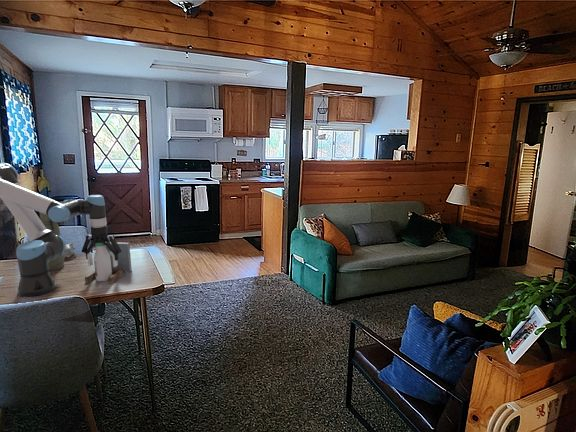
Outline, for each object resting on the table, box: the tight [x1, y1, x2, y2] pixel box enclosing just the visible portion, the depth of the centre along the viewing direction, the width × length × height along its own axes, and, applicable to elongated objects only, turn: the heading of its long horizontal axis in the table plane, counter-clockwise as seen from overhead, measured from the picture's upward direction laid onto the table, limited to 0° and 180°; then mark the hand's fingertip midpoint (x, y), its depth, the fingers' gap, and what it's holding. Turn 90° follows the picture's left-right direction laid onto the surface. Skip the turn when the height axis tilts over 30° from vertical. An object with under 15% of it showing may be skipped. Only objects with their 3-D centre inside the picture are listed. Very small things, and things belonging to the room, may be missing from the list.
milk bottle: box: [93, 243, 112, 282], centre depth 195 cm, size 8×8×20 cm
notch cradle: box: [84, 269, 125, 285], centre depth 198 cm, size 12×14×3 cm
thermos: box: [39, 212, 65, 271], centre depth 210 cm, size 9×12×35 cm
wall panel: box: [105, 241, 133, 273], centre depth 206 cm, size 4×16×16 cm, turn 84°
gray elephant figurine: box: [63, 242, 77, 260], centre depth 232 cm, size 9×12×8 cm
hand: (103, 265), depth 196 cm, fingers open, 13 cm apart
